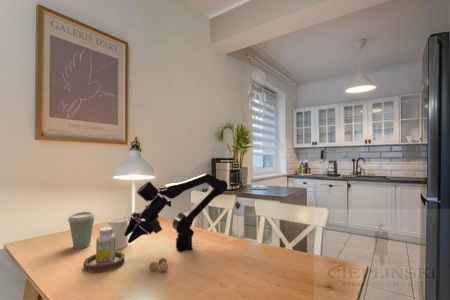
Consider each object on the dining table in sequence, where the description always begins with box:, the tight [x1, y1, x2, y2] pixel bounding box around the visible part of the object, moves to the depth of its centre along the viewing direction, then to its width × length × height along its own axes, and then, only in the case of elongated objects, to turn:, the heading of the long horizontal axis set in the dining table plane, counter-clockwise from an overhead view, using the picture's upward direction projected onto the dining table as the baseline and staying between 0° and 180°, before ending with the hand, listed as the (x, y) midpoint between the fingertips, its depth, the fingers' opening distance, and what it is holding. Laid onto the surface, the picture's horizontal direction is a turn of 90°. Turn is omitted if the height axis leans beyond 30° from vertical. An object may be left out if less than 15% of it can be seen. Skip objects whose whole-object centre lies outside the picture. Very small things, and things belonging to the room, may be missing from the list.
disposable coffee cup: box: [67, 211, 95, 250], centre depth 110 cm, size 11×11×15 cm
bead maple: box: [148, 261, 159, 273], centre depth 86 cm, size 3×3×3 cm
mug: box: [108, 217, 129, 250], centre depth 109 cm, size 12×8×12 cm
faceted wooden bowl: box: [82, 250, 125, 274], centre depth 92 cm, size 14×14×2 cm
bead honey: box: [157, 257, 168, 267], centre depth 90 cm, size 3×3×3 cm
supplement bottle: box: [95, 226, 116, 265], centre depth 92 cm, size 7×7×13 cm
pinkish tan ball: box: [158, 262, 169, 273], centre depth 86 cm, size 3×3×3 cm
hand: (126, 239), depth 96 cm, fingers open, 9 cm apart
